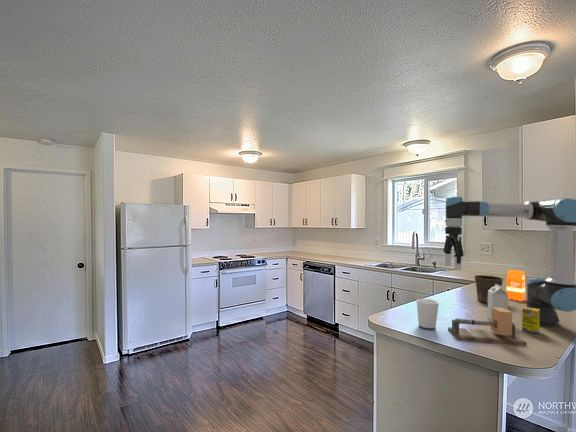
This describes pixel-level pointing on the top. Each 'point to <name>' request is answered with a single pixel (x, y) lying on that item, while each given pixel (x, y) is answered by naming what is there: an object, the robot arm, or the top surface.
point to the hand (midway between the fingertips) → (452, 268)
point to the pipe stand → (483, 333)
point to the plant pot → (486, 286)
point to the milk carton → (497, 299)
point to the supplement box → (530, 320)
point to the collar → (501, 321)
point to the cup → (427, 313)
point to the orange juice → (516, 285)
